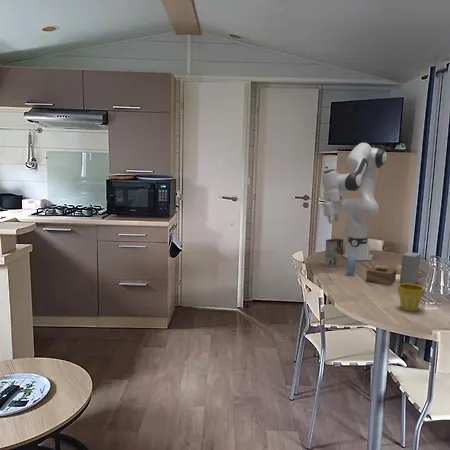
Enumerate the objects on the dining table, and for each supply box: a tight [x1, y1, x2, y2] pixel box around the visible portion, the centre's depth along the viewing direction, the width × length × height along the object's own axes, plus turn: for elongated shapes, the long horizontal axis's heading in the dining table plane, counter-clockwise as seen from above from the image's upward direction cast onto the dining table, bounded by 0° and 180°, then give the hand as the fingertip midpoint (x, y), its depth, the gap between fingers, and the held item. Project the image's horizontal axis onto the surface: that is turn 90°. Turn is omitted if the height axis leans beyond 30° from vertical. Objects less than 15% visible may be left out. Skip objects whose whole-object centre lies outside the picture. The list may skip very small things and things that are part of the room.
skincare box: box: [399, 251, 422, 284], centre depth 225 cm, size 8×7×16 cm
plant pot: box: [397, 283, 425, 312], centre depth 187 cm, size 10×10×10 cm
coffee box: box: [324, 238, 344, 268], centre depth 262 cm, size 9×6×16 cm
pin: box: [346, 253, 356, 277], centre depth 240 cm, size 4×4×12 cm
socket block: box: [365, 266, 397, 287], centre depth 229 cm, size 12×12×6 cm
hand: (333, 222), depth 247 cm, fingers open, 8 cm apart
